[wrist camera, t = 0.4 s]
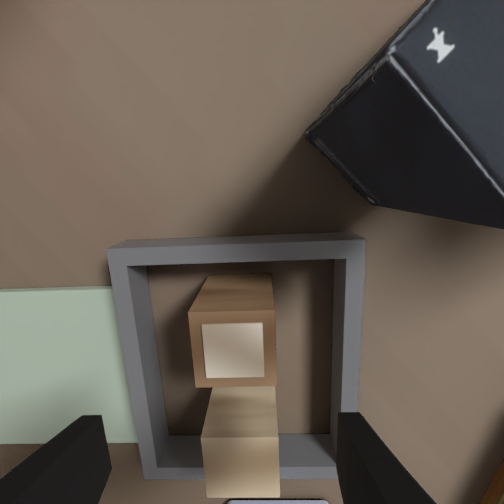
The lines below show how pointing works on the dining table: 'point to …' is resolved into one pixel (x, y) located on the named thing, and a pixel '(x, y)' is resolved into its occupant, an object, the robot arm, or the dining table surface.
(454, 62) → the small box
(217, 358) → the walnut block
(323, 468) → the parts bin
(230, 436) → the maple block
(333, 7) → the dining table surface
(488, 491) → the diary
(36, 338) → the pad
